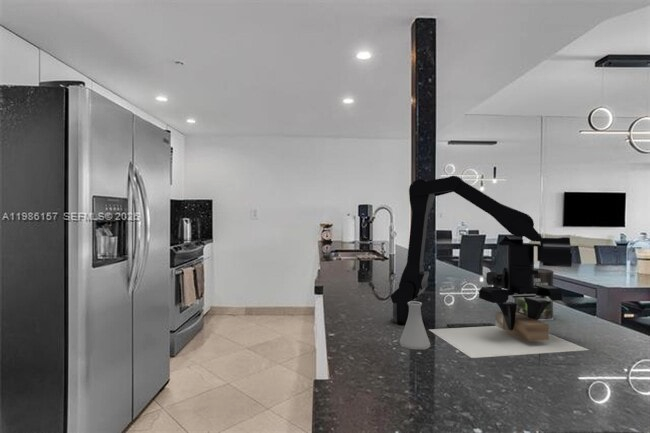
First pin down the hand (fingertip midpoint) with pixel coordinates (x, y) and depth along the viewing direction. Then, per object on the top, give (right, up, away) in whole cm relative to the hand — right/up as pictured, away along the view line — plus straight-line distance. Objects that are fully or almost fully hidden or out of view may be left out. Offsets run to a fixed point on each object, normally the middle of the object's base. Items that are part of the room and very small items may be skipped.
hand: (520, 329), depth 89 cm
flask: (-27, -3, -5) cm, 27 cm away
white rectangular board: (-5, -3, -1) cm, 6 cm away
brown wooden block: (0, -1, 0) cm, 1 cm away
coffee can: (+15, -3, +21) cm, 26 cm away
